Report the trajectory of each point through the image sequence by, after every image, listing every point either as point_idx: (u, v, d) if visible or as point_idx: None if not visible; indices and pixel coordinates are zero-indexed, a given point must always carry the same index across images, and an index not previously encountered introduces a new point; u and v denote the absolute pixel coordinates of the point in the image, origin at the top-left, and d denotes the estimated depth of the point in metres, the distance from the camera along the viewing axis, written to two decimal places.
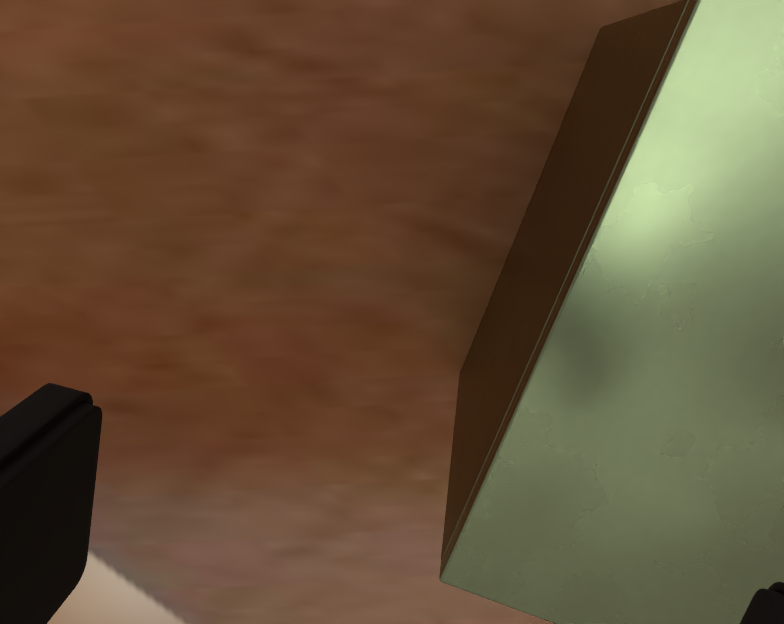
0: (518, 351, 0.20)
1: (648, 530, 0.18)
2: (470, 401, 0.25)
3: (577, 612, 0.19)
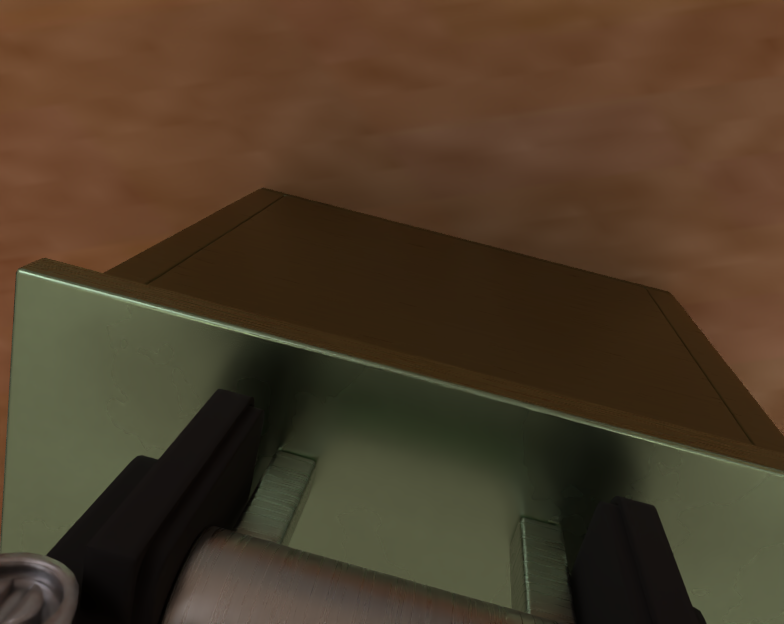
0: None
1: None
2: None
3: None
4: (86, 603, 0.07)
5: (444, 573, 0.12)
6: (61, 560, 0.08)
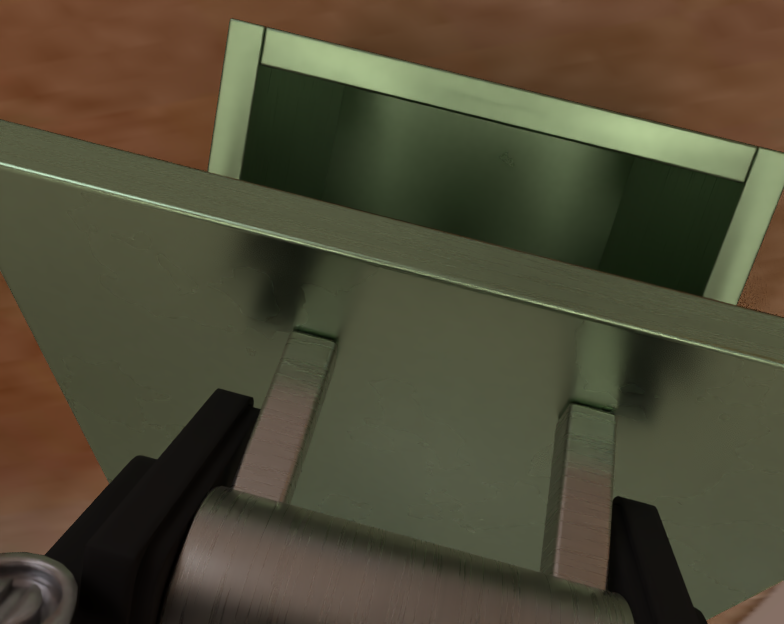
0: None
1: None
2: None
3: None
4: (85, 603, 0.07)
5: (487, 430, 0.11)
6: (60, 560, 0.08)
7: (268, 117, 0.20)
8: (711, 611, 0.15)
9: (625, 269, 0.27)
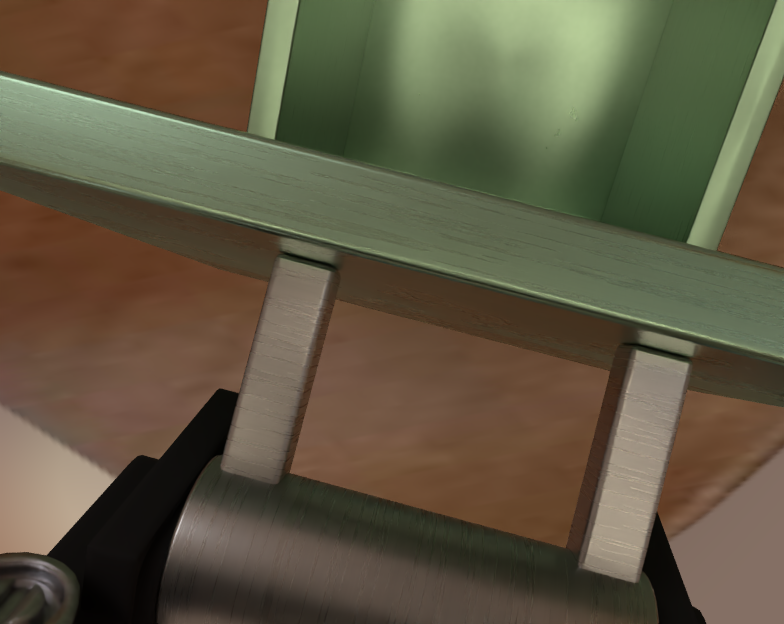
0: None
1: (339, 296, 0.18)
2: None
3: None
4: (87, 603, 0.07)
5: (534, 326, 0.09)
6: (62, 560, 0.08)
7: None
8: None
9: (687, 34, 0.26)
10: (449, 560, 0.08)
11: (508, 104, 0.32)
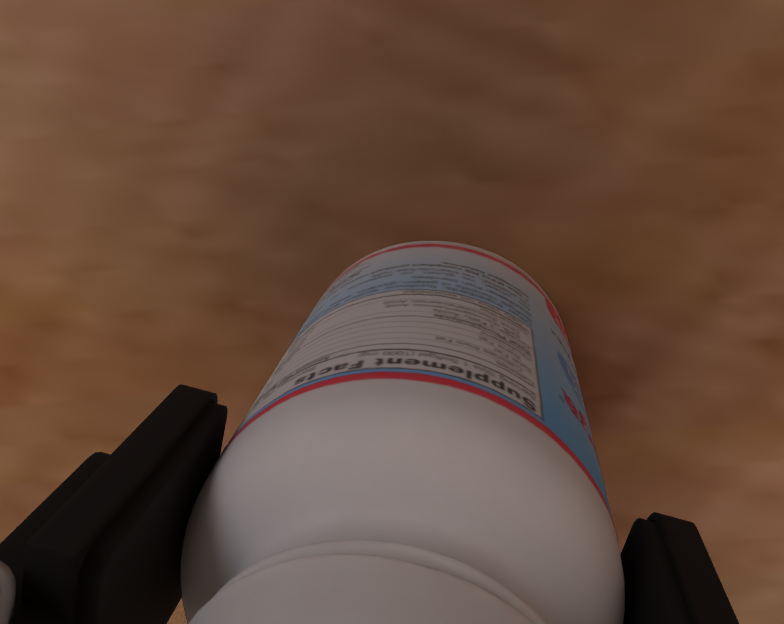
0: None
1: None
2: None
3: None
4: (27, 602, 0.07)
5: None
6: (6, 558, 0.08)
7: None
8: None
9: None
10: None
11: None
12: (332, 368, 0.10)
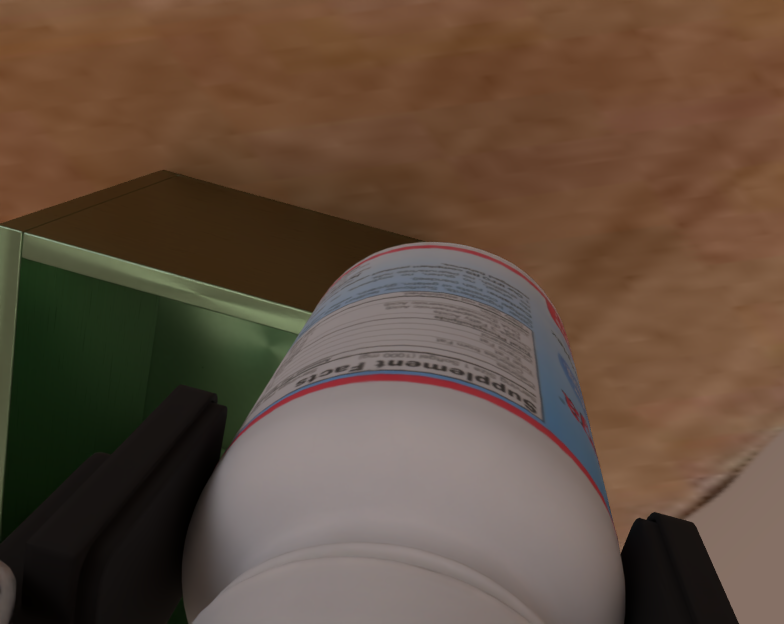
0: None
1: None
2: None
3: None
4: (28, 602, 0.07)
5: None
6: (7, 558, 0.08)
7: (46, 282, 0.26)
8: None
9: None
10: None
11: None
12: (332, 371, 0.10)
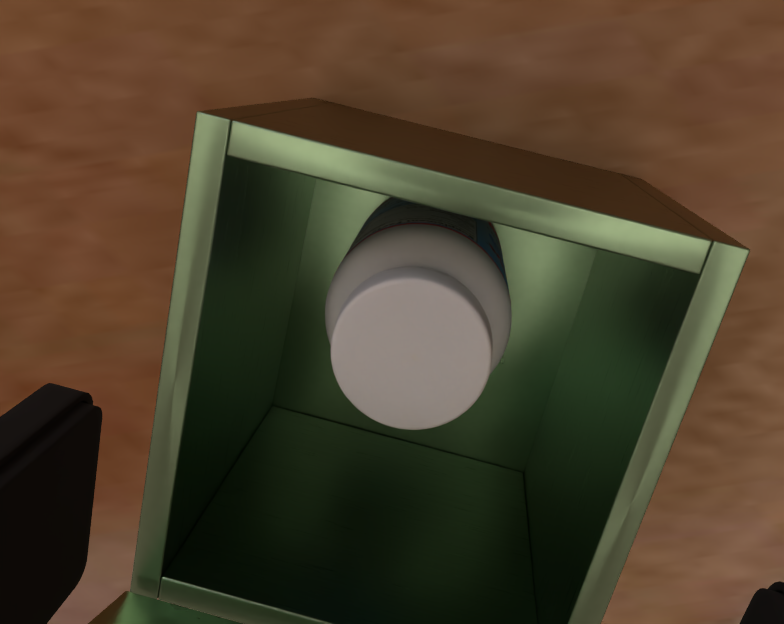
0: None
1: None
2: None
3: None
4: None
5: None
6: None
7: (238, 198, 0.20)
8: None
9: (597, 328, 0.27)
10: None
11: None
12: (388, 225, 0.24)
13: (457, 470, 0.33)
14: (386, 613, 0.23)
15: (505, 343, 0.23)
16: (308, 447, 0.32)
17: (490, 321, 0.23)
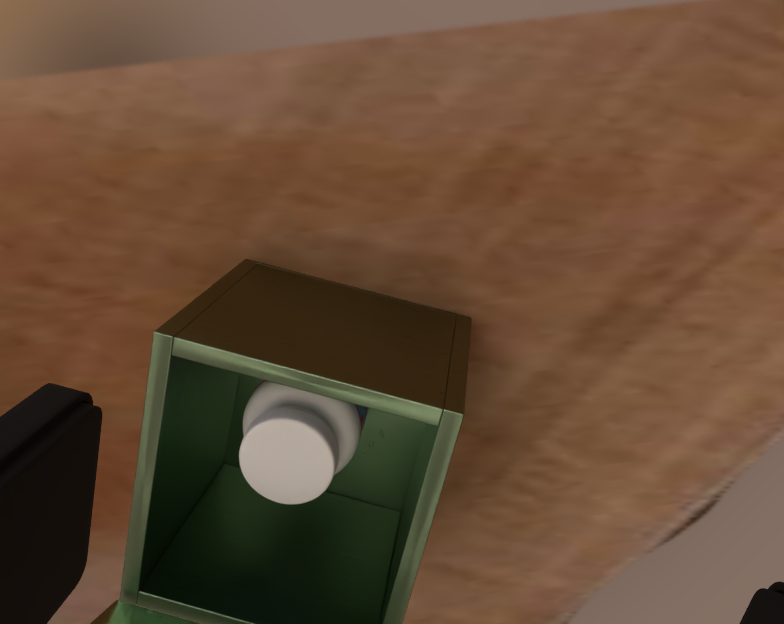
0: None
1: None
2: None
3: None
4: None
5: None
6: None
7: (181, 368, 0.34)
8: None
9: (429, 426, 0.41)
10: None
11: None
12: None
13: (351, 511, 0.47)
14: (279, 614, 0.37)
15: (354, 446, 0.37)
16: (245, 496, 0.46)
17: (342, 434, 0.36)
